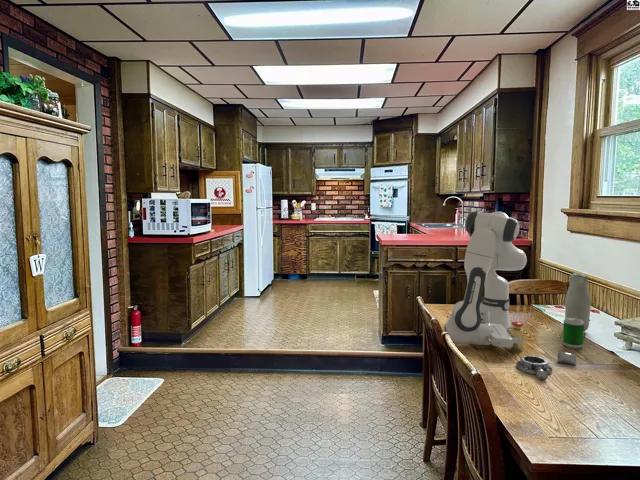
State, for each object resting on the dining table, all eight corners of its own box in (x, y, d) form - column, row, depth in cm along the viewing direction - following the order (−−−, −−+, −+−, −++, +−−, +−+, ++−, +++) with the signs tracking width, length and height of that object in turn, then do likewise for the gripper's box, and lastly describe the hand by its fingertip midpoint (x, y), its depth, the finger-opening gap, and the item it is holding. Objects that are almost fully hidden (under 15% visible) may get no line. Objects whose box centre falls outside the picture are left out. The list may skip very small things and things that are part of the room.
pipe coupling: (557, 363, 165) (557, 353, 165) (558, 359, 168) (559, 349, 168) (575, 366, 162) (575, 356, 161) (576, 363, 165) (576, 353, 164)
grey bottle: (590, 331, 203) (593, 273, 200) (585, 336, 196) (589, 276, 193) (567, 327, 210) (570, 270, 207) (561, 331, 203) (564, 273, 200)
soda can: (585, 349, 179) (587, 321, 178) (566, 348, 180) (567, 321, 179) (578, 343, 186) (580, 316, 185) (560, 342, 188) (561, 316, 186)
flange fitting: (524, 379, 150) (524, 369, 150) (512, 361, 167) (513, 353, 166) (561, 382, 148) (562, 372, 148) (546, 363, 164) (546, 355, 164)
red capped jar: (507, 349, 180) (508, 322, 179) (514, 347, 183) (515, 320, 181) (518, 353, 176) (519, 325, 175) (525, 350, 178) (526, 323, 177)
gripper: (489, 335, 171) (526, 336, 168) (480, 320, 191) (513, 321, 188) (488, 350, 171) (525, 352, 169) (479, 334, 191) (512, 335, 189)
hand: (519, 336), depth 178 cm, fingers open, 8 cm apart
